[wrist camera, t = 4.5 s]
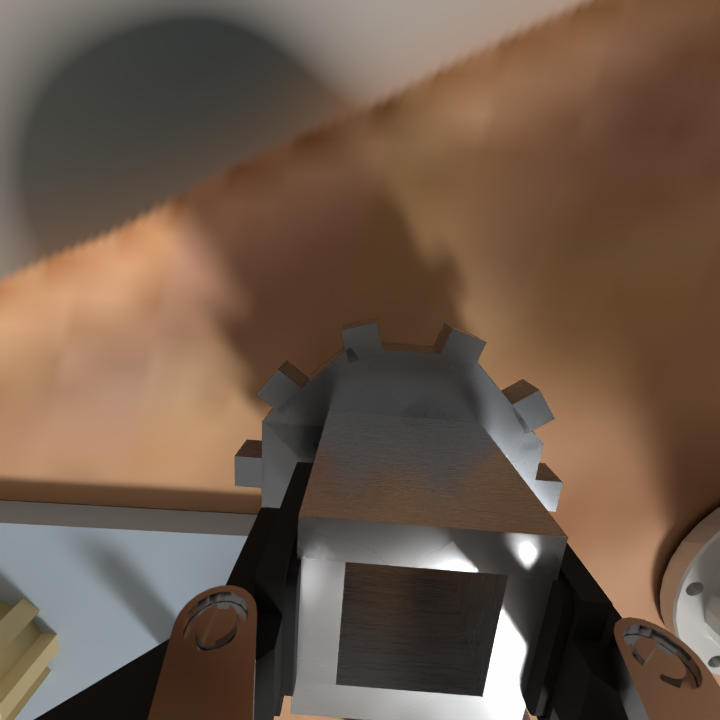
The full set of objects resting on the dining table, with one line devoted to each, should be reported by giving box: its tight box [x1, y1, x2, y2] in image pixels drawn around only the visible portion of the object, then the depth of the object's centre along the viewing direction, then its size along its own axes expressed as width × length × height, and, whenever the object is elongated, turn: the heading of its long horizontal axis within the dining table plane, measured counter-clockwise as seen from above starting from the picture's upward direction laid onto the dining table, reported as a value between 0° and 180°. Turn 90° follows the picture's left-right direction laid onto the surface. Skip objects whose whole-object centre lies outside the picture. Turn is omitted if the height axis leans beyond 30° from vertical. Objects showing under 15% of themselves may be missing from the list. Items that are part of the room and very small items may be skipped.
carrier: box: [0, 500, 257, 720], centre depth 15 cm, size 20×14×8 cm
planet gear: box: [235, 318, 568, 720], centre depth 10 cm, size 11×11×6 cm
